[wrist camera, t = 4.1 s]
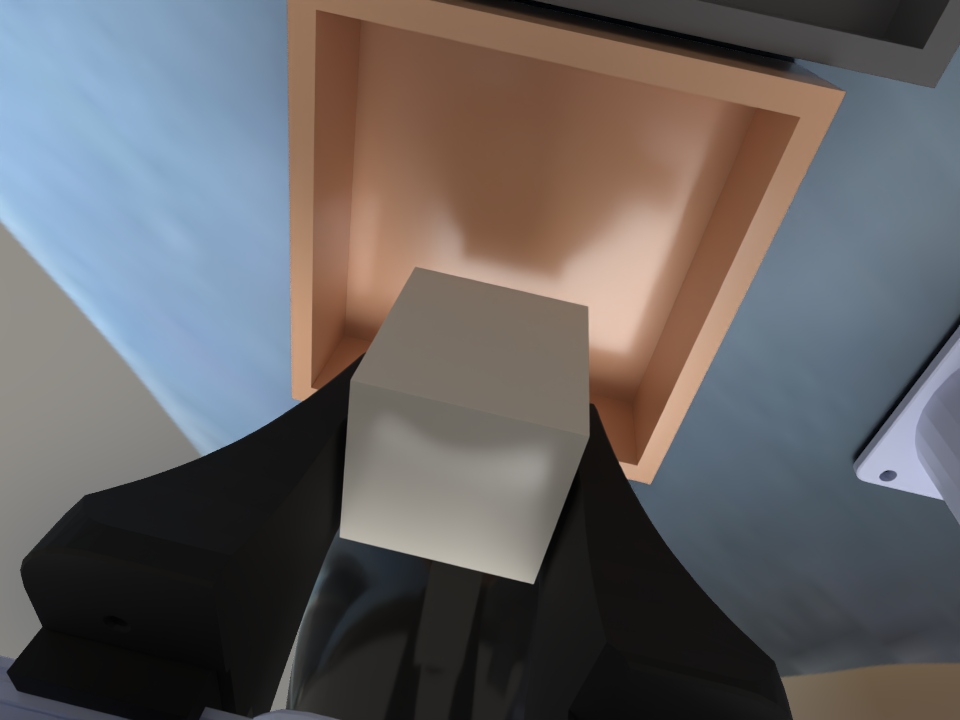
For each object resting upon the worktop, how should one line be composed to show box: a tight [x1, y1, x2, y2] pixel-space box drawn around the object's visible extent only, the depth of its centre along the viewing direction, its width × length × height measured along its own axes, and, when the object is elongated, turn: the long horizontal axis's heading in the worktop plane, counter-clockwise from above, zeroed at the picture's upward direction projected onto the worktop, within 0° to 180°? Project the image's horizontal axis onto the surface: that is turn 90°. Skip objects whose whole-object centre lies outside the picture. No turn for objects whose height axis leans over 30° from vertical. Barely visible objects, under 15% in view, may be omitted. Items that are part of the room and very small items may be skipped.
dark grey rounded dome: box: [286, 527, 539, 720], centre depth 19 cm, size 10×10×15 cm
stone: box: [340, 267, 590, 584], centre depth 13 cm, size 4×4×4 cm
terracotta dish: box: [287, 0, 846, 484], centre depth 16 cm, size 11×11×4 cm
